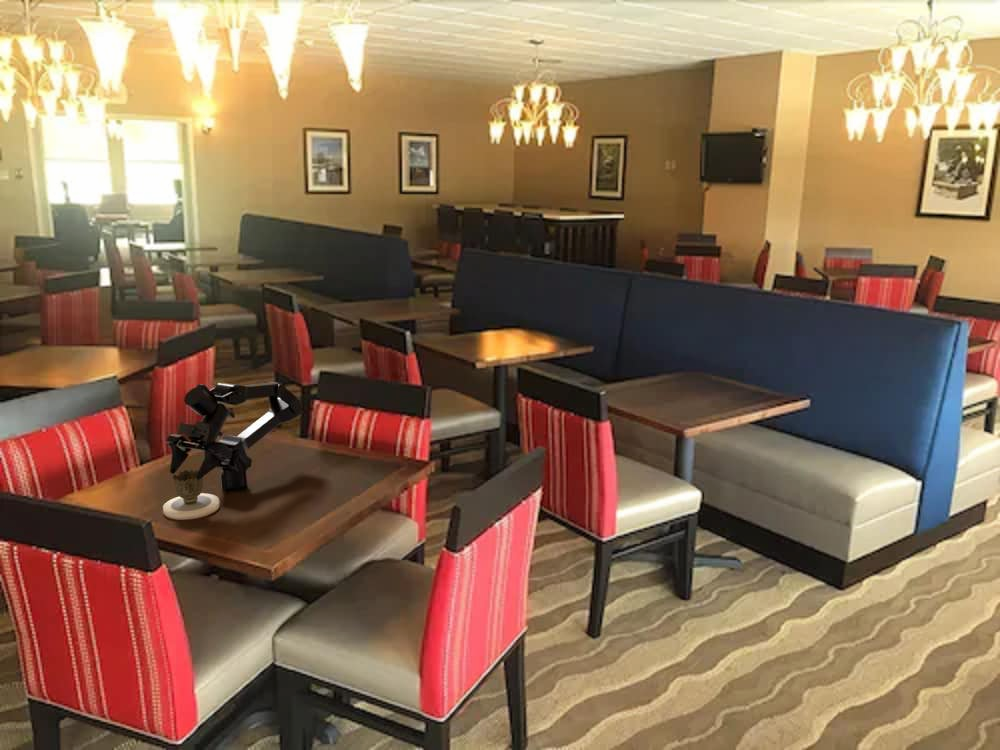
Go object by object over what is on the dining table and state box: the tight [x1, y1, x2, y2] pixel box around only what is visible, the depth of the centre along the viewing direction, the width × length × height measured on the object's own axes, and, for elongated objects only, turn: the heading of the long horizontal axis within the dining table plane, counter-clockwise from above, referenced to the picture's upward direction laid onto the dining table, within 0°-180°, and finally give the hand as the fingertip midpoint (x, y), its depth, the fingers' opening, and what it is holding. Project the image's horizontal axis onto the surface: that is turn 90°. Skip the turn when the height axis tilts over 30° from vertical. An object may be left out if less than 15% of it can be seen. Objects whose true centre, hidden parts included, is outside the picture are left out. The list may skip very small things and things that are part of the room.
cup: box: [172, 469, 204, 504], centre depth 213 cm, size 8×7×8 cm
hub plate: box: [162, 492, 220, 521], centre depth 214 cm, size 14×14×2 cm
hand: (184, 476), depth 211 cm, fingers open, 9 cm apart
